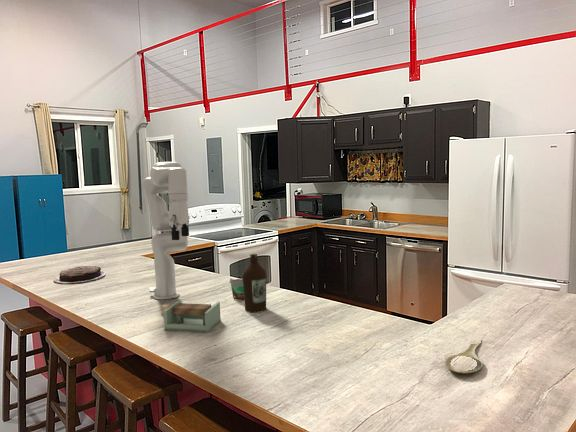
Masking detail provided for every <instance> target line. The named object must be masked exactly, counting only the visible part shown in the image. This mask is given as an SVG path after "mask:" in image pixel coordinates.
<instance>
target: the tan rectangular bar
mask: <svg viewBox="0 0 576 432" xmlns="http://www.w3.org/2000/svg"><path fill="white" fill-rule="evenodd" d="M171 305H172V304H167V303H166V304H162V305H161V315H162V316H164V310H166V309H167V308H169V307H170V306H171Z"/></svg>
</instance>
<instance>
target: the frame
mask: <svg viewBox="0 0 576 432" xmlns="http://www.w3.org/2000/svg"><path fill="white" fill-rule="evenodd" d="M179 303H182V300H177V301H175V302H174V303H173V304H170V305H171V306H170V307H169V308H167V309H166V310H164V315H163V324H164V331H165V332H185V333H207V334H208V333H210V332H211V331H212V330H213V329H214V328H215V327H216V326H217V325H218V324H219V323H220V322H221V302H220V301H216V302H215V303H214V304H213V305H211V308H210V309H208V310H207V311H206V312H205V315H185V314H173V307H175V306H176V305H178V304H179Z"/></svg>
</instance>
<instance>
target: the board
mask: <svg viewBox="0 0 576 432" xmlns="http://www.w3.org/2000/svg"><path fill="white" fill-rule="evenodd" d="M211 307H212V304H211V303H210V304H209V303H208V304H207V303H186V302H185V303H184V302H181V303H179V304H178V305H176V306H175V307H173V314H185V315H205V312H206V311H207V310H208V309H210V308H211Z"/></svg>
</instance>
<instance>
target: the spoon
mask: <svg viewBox="0 0 576 432" xmlns="http://www.w3.org/2000/svg"><path fill="white" fill-rule="evenodd" d="M479 344H480V343H477V344H471V343H470V345H469V347H468V348H467V349H466V350H465V351H463V352H461V353H458V354H453V355H451V356H449V357H447V358H446V359H445V361H444V364H445V365H444V366H445V367H446V368H447V369H448V370H449V371H451V372H455V373H458V374H472V373H476V372H478V371H480V370H481V369H482V368H483V362H482V360H481V358H479V357H478V356H477V354H476V349H477V348H478V347H479V346H480V345H481V344H480V345H479ZM457 356H466V357H471V358H472V359H474V360H476V362H477V366H476V367H475V368H474V369H472V370H468V371H462V370H457V369H455V368H453V367H452V366H451V364H450V363H451V360H452V359H453V358H455V357H457Z"/></svg>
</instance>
